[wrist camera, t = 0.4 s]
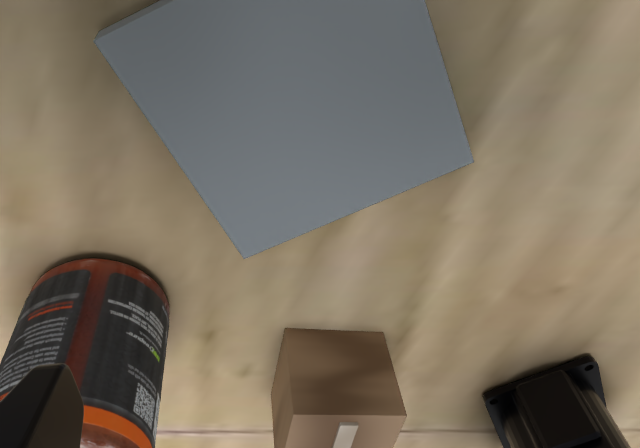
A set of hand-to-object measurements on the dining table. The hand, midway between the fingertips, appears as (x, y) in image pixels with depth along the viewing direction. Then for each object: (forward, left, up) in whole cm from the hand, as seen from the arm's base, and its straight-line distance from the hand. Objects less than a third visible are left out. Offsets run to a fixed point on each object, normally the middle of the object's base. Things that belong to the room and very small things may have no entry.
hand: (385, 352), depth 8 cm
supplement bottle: (-7, +13, -14) cm, 20 cm away
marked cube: (-16, +6, -14) cm, 22 cm away
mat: (-2, +1, -14) cm, 14 cm away
